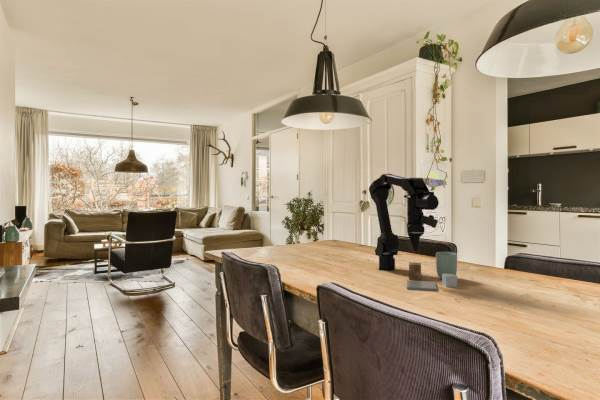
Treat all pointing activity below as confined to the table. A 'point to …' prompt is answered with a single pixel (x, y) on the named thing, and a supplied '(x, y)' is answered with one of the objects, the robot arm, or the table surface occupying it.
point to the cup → (446, 263)
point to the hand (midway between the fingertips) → (415, 248)
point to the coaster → (421, 285)
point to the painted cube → (449, 280)
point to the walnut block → (414, 271)
